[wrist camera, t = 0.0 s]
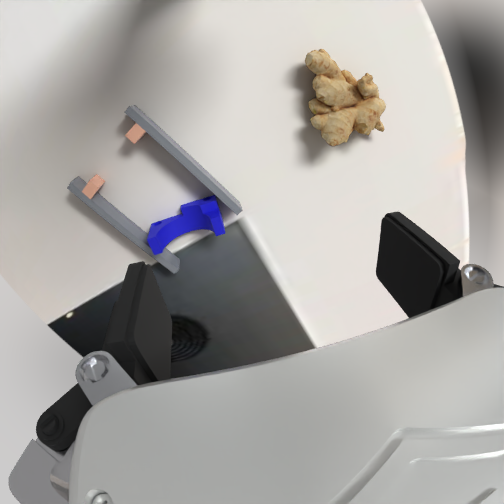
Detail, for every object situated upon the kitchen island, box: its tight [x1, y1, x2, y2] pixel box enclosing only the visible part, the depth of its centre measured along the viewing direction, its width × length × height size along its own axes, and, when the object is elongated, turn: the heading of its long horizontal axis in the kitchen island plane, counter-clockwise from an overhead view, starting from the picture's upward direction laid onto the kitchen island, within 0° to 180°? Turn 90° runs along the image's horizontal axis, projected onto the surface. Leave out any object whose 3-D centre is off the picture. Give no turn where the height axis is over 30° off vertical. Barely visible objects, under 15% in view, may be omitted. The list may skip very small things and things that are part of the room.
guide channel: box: [67, 105, 242, 274], centre depth 44 cm, size 24×16×4 cm
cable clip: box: [147, 195, 225, 255], centre depth 46 cm, size 12×4×6 cm, turn 104°
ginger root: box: [305, 49, 386, 146], centre depth 40 cm, size 16×16×8 cm
